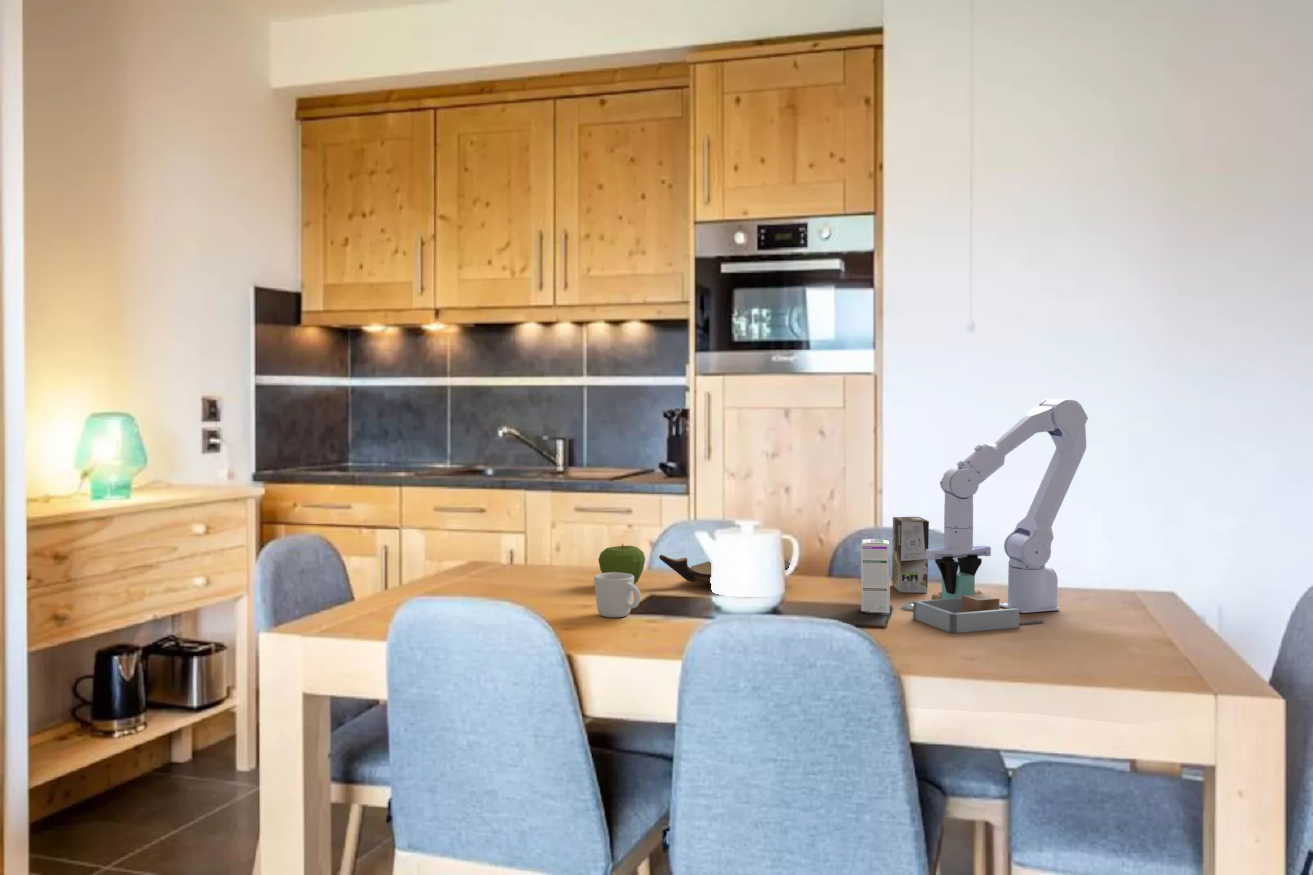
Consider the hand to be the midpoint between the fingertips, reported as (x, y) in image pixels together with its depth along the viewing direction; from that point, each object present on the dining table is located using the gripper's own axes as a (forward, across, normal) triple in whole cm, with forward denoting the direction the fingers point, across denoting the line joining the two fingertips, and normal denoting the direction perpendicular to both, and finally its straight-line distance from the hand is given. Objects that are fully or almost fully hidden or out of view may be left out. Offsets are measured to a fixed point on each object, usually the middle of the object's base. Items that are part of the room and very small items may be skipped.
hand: (958, 592), depth 219 cm
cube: (+4, +3, +11) cm, 12 cm away
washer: (+4, +8, -4) cm, 10 cm away
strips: (+4, -5, +11) cm, 13 cm away
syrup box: (+4, +17, -4) cm, 18 cm away
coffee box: (+4, -3, -22) cm, 23 cm away
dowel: (+4, -5, -7) cm, 9 cm away
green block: (+2, 0, 0) cm, 2 cm away
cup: (+3, +68, -16) cm, 70 cm away
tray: (+3, +6, +11) cm, 13 cm away
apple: (+3, +58, -45) cm, 74 cm away
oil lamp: (+3, +34, -40) cm, 53 cm away
